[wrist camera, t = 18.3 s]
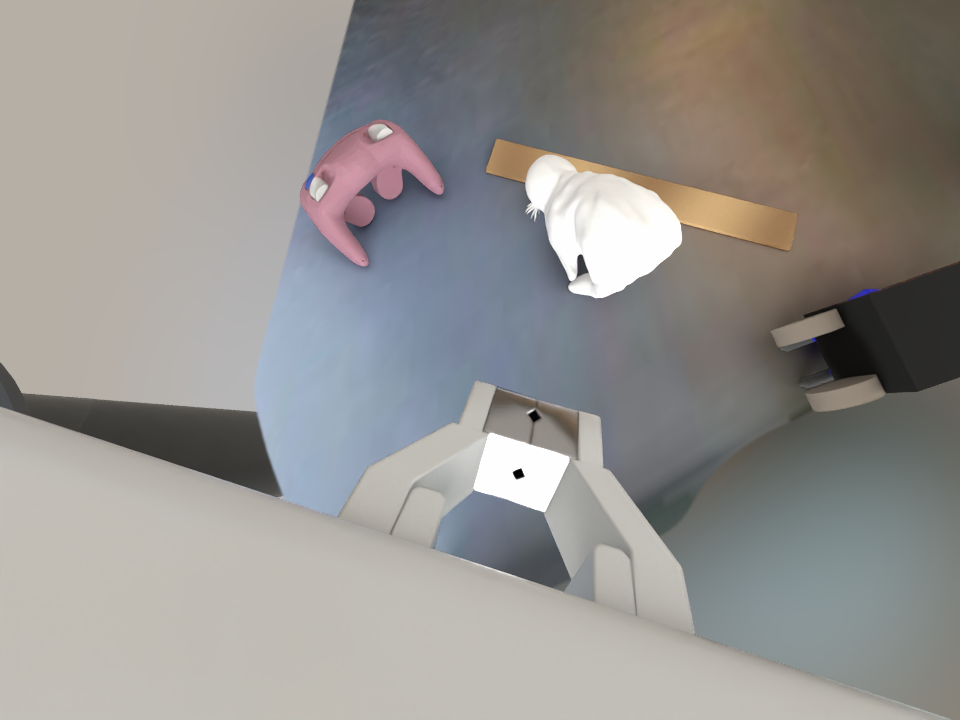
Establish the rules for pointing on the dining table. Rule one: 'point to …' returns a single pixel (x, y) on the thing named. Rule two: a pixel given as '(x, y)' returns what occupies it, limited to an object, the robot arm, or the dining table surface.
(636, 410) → the dining table surface
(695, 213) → the brass ruler
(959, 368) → the dark block with discs
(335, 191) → the pink animal figurine
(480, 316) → the dining table surface
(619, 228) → the white sculpture
